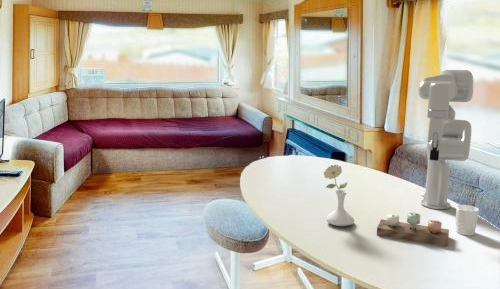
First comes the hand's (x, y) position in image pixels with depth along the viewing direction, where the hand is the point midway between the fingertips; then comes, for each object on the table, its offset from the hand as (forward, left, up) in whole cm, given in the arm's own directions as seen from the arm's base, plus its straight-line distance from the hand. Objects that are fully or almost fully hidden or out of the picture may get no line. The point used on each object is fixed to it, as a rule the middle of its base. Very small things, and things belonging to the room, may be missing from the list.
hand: (434, 159), depth 174 cm
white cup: (+12, +7, -27) cm, 31 cm away
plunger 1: (+3, -20, -27) cm, 34 cm away
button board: (+8, -15, -27) cm, 32 cm away
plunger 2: (+8, -15, -25) cm, 30 cm away
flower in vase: (-13, -35, -27) cm, 46 cm away
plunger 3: (+13, -10, -27) cm, 31 cm away
